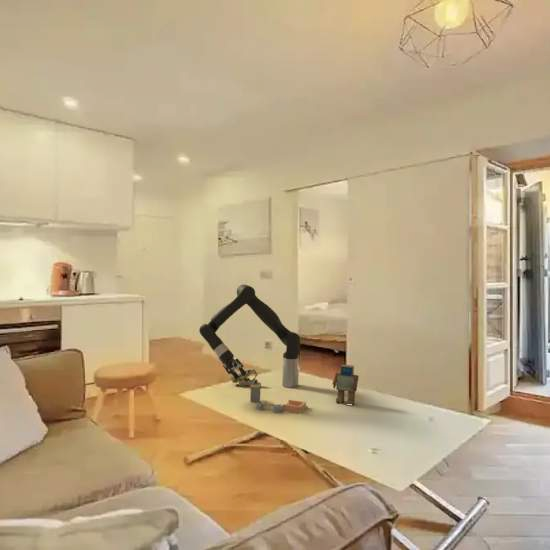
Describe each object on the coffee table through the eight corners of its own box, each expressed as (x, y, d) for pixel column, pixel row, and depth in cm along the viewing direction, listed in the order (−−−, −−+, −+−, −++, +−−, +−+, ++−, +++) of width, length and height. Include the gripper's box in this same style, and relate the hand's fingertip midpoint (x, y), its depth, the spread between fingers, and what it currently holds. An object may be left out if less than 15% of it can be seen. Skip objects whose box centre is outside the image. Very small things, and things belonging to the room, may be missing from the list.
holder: (279, 410, 215) (279, 404, 215) (287, 404, 225) (287, 399, 225) (300, 413, 211) (300, 408, 211) (307, 407, 221) (307, 401, 221)
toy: (331, 404, 228) (332, 366, 227) (336, 399, 236) (337, 363, 236) (355, 407, 223) (356, 369, 223) (358, 402, 232) (359, 366, 232)
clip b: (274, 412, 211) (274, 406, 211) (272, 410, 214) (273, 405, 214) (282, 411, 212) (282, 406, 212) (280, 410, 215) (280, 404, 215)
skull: (258, 384, 255) (254, 368, 255) (233, 391, 255) (228, 375, 256) (259, 380, 265) (255, 365, 265) (235, 387, 265) (231, 371, 265)
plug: (253, 399, 231) (253, 378, 231) (260, 401, 229) (261, 379, 229) (250, 402, 227) (250, 380, 227) (257, 403, 225) (257, 381, 225)
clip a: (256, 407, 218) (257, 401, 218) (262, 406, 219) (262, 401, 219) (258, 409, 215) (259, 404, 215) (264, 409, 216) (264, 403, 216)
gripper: (221, 351, 228) (240, 375, 224) (234, 347, 241) (251, 369, 237) (212, 360, 230) (230, 384, 226) (225, 355, 243) (243, 378, 239)
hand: (241, 376), depth 232 cm, fingers open, 8 cm apart
